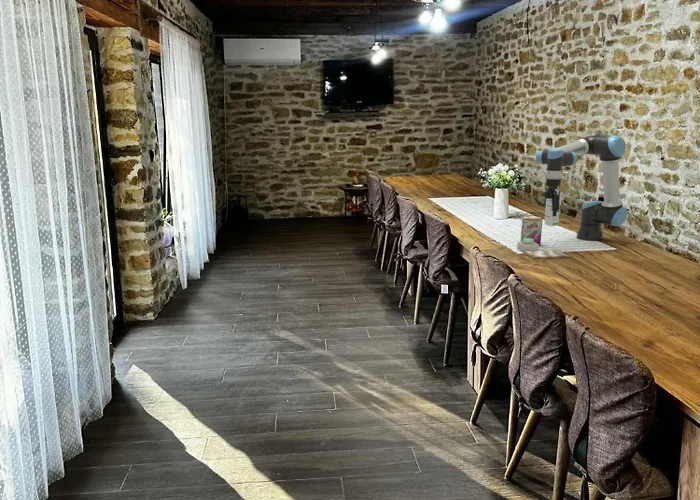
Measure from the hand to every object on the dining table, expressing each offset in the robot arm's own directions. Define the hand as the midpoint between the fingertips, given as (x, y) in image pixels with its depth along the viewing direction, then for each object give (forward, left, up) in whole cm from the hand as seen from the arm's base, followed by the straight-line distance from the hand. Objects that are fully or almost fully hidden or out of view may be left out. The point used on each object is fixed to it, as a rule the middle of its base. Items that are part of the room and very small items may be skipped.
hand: (550, 220), depth 330 cm
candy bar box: (-1, -27, -20) cm, 34 cm away
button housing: (+6, -14, -20) cm, 25 cm away
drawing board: (+1, -1, -20) cm, 20 cm away
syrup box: (-1, 0, -3) cm, 3 cm away
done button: (+6, -14, -17) cm, 23 cm away
